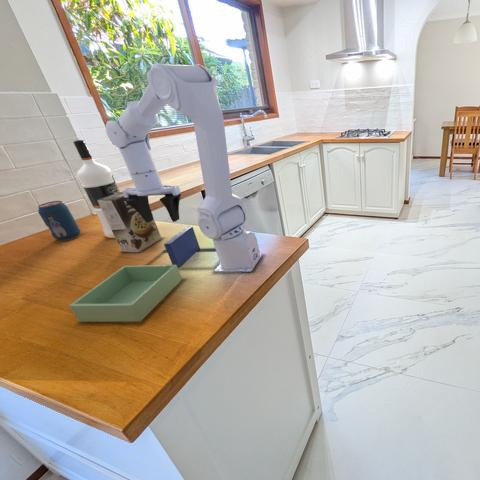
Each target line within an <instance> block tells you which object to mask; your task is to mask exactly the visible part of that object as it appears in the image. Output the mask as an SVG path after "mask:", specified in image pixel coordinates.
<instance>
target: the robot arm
mask: <svg viewBox="0 0 480 480" xmlns="http://www.w3.org/2000/svg"><path fill="white" fill-rule="evenodd" d="M146 78H147V83H148V84H147V87H146V88H145V90H144V91H143V94H142V96H141V97H140V99H139V100H133V101H132V100H131V101H128V102H127V103H126V107H125V109H124V111H123V112H122V113H121V114H120V115H119V117H118V119H117V120H107V121H106V124H105V132H106V135H107V137H108V139H109V141H110V142H111V143H112V144H113V146H115V147H117V148H118V149H119V151H120V154H121V156H122V159H123V161H124V163H125V165H126V168H127V170H128V173H129V174H130V177H131V179H132V182H133V185H134V186H135V187H127V188H125V189H122V190H121V192H122V193H123V195H124V197H125V198H127V197H129V199H128V200H126V203H127V204H129V205H130V206H131V207H133V208H134V209H135V210H136V211H137V212H138V213H139V214H140V215H141V216H142V217H143V219H144V220H145V221H146V222H147V223H149V222H151V221H152V220H154V221H155V218H154V215H153V212H152V209H151V206H150V202H149V197H150V196H155V197H156V196H162V197H160V198H159V201H160V202H161V203H162V205H163V206H164V208H165V209H166V211H167V212H168V213H167V214H168V216H169V217H170V219H171V221H172V223H173V222H174V223H176V222H178V220H180V200H181V197H182V196H181V195H182V194H181V193H182V191H181V189H180V186H179V185H167V184H163V183H162V181H161V178H160V175H159V172H158V170H157V167H156V165H155V161H154V159H153V157H152V154H151V152H150V151H151V150H152V149H151V148H152V147H151V145H150V132H151V131H152V130H153V128H154V127H155V126H156V125H157V124H158V122H159V117H158V113H160V111H162V110H163V109H164V108H165V107H166V106H167V105H168V106H169V107H170V108H172V109H173V110H175V111H176V112H177V113H179V114H180V115H182V116H185V117H187V118H188V119H189V120H190V121H191V122H192V123H193V128H194V133H195V134H194V135H195V141H196V146H197V152H198V157H199V164H200V169H201V175H202V181H203V182H202V183H203V186H204V194H205V197H204V199H203V200H202V202H201V203H200V205H199V206H198V213H199V215H198V219H197V221H198V222H197V225H198V228H199V230H200V231H201V233H202V234H203V235H204V236H205V237H206V238H208V239H210V240H212V242H213V245H214V248H215V249H216V255H217V258H218V261H219V264H218V266H217V267H215V269H214V272H218V273H219V272H241V273H250V272H252V271H253V270H254V269H255V267H256V265H257V264H258V262H259V261H260V259H262V256H263V255H262V253H261V251H260V248H259V243H258V239H257V236H256V234H255V232H253V231H248V230H245V223H246V221H247V219H248V217H247V216H248V215H247V211H246V210H245V207H244V205H243V199H242V198H241V197H239V196H238V195H236V194H234V193H233V190H232V181H231V172H230V165H229V155H228V146H227V139H226V138H227V137H226V129H225V120H224V113H223V109H222V107H221V104H220V100H219V91H218V83H217V82H218V81H217V79H216V78H215V76H214V75H213V74H212V73H211V72H210V71H209V69H207V68H206V66H204V65H202V64H168V63H167V64H165V63H162V62H155V63H153V64H152V65H151V67H150V69H149V71H147V72H146ZM153 218H154V219H153Z"/></svg>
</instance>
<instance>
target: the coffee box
mask: <svg viewBox="0 0 480 480" xmlns="http://www.w3.org/2000/svg"><path fill="white" fill-rule="evenodd" d="M128 199H129V197H127V198H125V197H124V195H123V193H122V191H120V192H119V193H116V194H113V195H111V196H108V197H105V198H102V199H99V200H97V201H98V203H99V205H100V207H101V209H102V211H103V213H104V215H105V217H106V219H107V222H108V224H109V226H110V228H111V230H112V232H113V234H114V236H115V238H114V239H115V240H116V243H117V244H118V246H119V248H120V251H121V252H125V253H140V252H142V251H144V250H145V249H147V248H148V247H150V246H152V245H154V244H156V243H157V242H159V241H160V240H162V239H163V238H162V235H161V232H160V230H159V228H158V225H157V223H156V221H155V218H154V217H153V219H154V220H152V221H151V222H149V223H147V222H146V221H145V220H144V219H143V217H142V216H141V215H140V214H139V213H138V212H137V211H136V210H135V209H134V208H133V207H131V206H130V205H129V204H127V203H126V200H128Z"/></svg>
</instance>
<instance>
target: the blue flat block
mask: <svg viewBox="0 0 480 480" xmlns="http://www.w3.org/2000/svg"><path fill="white" fill-rule="evenodd" d="M164 247H165V250H167V253H166V254H167V256H168V258H169V260H170V262H171V265H177V267H178V269H180V268H181V267H182V266H183V265H184V264H185V263H187V262H188V261H189V260H190V259H191V258H192V257H194V255H195V254H196V253H198V252H197V251H198V250H199V249H201V247H200V244H199V241H198V238H197V235H196V233H195V229H194V227H193V226H186V227H185V228H183V229H182V230H181V231H179V232H178V233H177V234H176V235H174V236H173V237H171V238H170V239H169V240H167V241H166V242H165V243H164Z"/></svg>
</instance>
